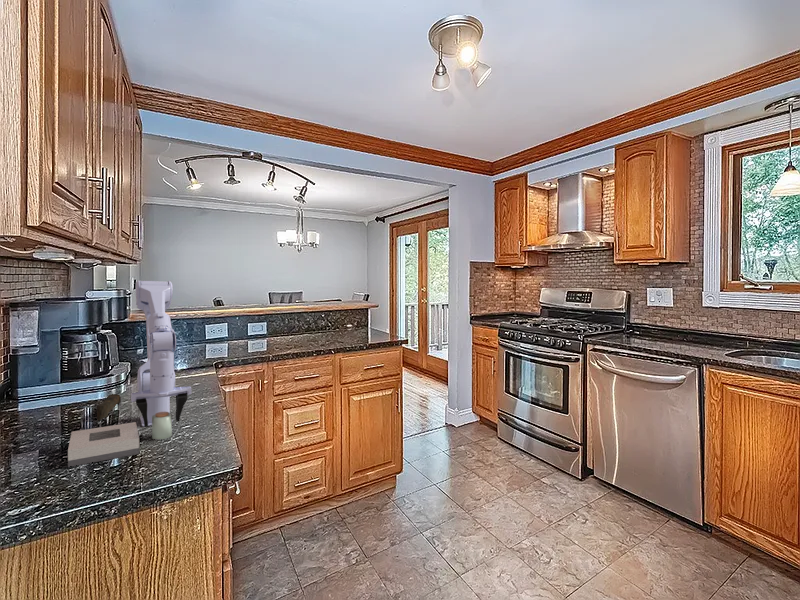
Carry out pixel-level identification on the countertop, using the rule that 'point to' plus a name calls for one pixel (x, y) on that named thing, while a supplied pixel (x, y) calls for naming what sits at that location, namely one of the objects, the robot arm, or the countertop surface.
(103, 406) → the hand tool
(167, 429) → the cylinder with orange cap
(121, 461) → the countertop surface
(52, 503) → the countertop surface
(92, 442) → the beige square slab
